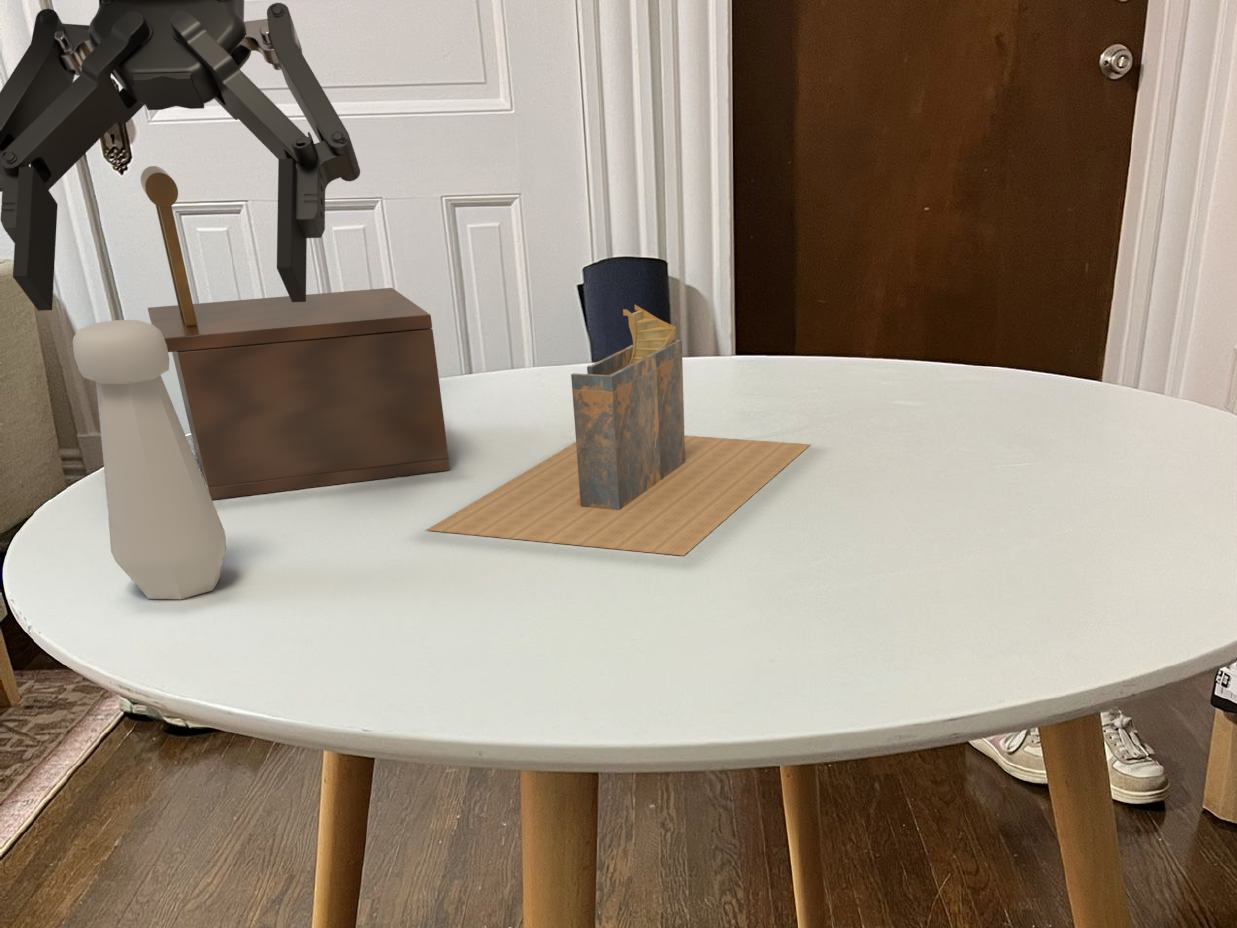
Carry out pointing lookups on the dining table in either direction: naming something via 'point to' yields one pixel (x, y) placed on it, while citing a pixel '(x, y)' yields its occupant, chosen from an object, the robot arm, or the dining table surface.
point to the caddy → (314, 411)
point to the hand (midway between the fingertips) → (162, 290)
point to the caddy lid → (264, 302)
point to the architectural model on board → (629, 463)
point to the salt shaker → (149, 465)
